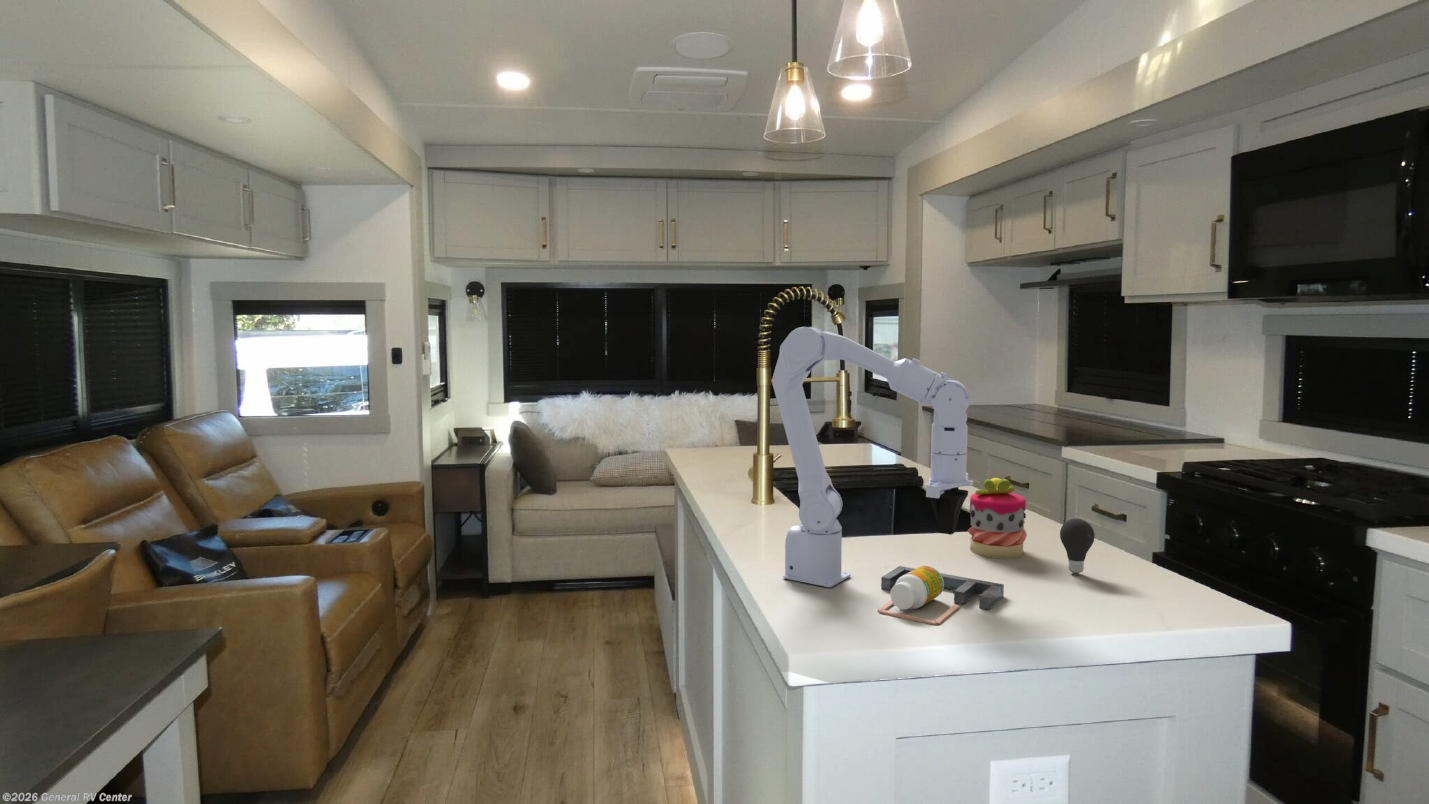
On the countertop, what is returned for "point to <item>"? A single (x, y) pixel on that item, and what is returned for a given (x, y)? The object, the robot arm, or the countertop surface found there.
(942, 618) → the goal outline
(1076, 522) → the light bulb
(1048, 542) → the countertop surface
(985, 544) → the cake
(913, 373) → the robot arm
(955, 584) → the rail
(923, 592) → the supplement bottle
